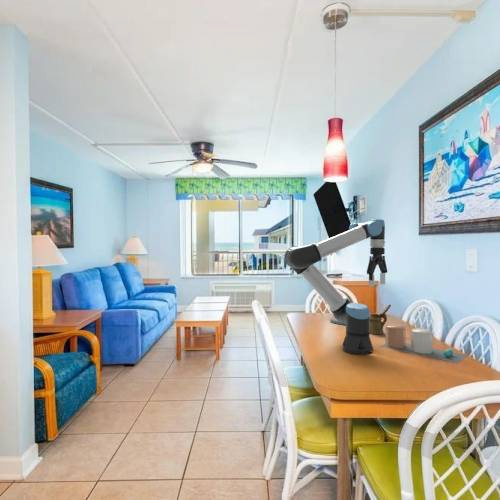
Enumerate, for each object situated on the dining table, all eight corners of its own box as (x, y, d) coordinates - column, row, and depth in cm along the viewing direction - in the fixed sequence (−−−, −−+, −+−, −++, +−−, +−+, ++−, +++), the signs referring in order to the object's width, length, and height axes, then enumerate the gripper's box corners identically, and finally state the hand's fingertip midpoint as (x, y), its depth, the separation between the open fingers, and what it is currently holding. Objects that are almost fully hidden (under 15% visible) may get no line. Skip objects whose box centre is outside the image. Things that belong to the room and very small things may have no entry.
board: (457, 366, 152) (457, 363, 152) (379, 349, 178) (379, 346, 178) (467, 358, 163) (467, 355, 163) (392, 343, 189) (392, 340, 189)
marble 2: (452, 356, 161) (452, 350, 161) (445, 355, 163) (445, 349, 163) (454, 355, 163) (454, 349, 163) (447, 353, 166) (447, 347, 165)
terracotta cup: (400, 348, 174) (400, 329, 174) (383, 345, 180) (383, 326, 180) (407, 345, 180) (407, 326, 180) (390, 341, 186) (390, 323, 186)
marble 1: (449, 358, 159) (449, 352, 159) (442, 357, 161) (442, 350, 161) (451, 357, 161) (451, 350, 161) (444, 355, 163) (444, 349, 163)
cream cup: (428, 354, 164) (428, 333, 164) (408, 350, 171) (408, 330, 171) (434, 350, 171) (434, 330, 171) (415, 346, 177) (415, 327, 177)
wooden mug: (391, 335, 205) (392, 305, 205) (368, 334, 209) (368, 304, 208) (389, 332, 214) (390, 303, 213) (367, 330, 217) (367, 302, 217)
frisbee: (329, 319, 252) (329, 315, 252) (368, 320, 247) (368, 317, 247) (331, 325, 232) (331, 321, 232) (372, 327, 227) (372, 323, 227)
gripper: (373, 247, 179) (373, 287, 180) (393, 247, 197) (393, 284, 197) (360, 247, 185) (360, 286, 185) (380, 247, 202) (380, 283, 202)
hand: (377, 285), depth 191 cm, fingers open, 13 cm apart
